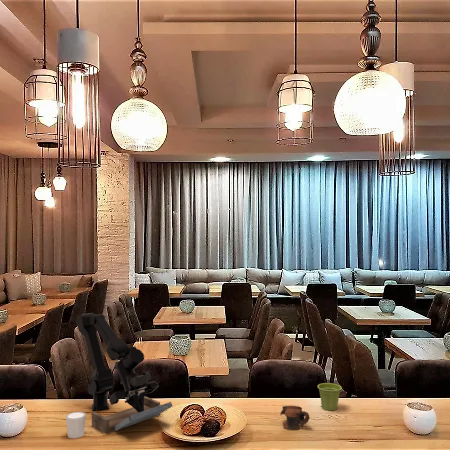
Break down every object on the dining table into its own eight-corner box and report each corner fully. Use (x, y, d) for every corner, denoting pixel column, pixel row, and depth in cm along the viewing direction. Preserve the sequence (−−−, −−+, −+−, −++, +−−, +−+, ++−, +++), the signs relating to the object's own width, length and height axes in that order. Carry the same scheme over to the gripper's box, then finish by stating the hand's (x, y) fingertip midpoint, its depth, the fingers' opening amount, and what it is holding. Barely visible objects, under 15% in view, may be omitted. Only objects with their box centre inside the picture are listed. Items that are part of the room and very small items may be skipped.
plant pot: (323, 402, 206) (323, 381, 206) (345, 407, 200) (345, 385, 200) (313, 409, 198) (313, 387, 198) (335, 414, 192) (335, 392, 192)
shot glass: (80, 439, 171) (80, 419, 171) (61, 438, 172) (61, 418, 172) (89, 431, 178) (89, 412, 177) (71, 430, 179) (71, 410, 179)
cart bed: (91, 426, 182) (91, 412, 182) (144, 408, 199) (144, 396, 199) (106, 434, 175) (106, 420, 175) (160, 415, 192) (160, 402, 192)
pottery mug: (275, 429, 181) (275, 405, 185) (288, 432, 187) (288, 409, 191) (304, 428, 174) (304, 403, 178) (316, 432, 180) (316, 408, 185)
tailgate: (114, 426, 177) (130, 415, 170) (154, 412, 190) (170, 401, 183) (115, 430, 176) (131, 420, 169) (155, 416, 189) (172, 406, 182)
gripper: (115, 370, 176) (131, 412, 169) (157, 360, 189) (173, 398, 182) (102, 384, 182) (117, 425, 175) (143, 372, 195) (158, 410, 189)
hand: (142, 414), depth 180 cm, fingers closed, pressing on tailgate
